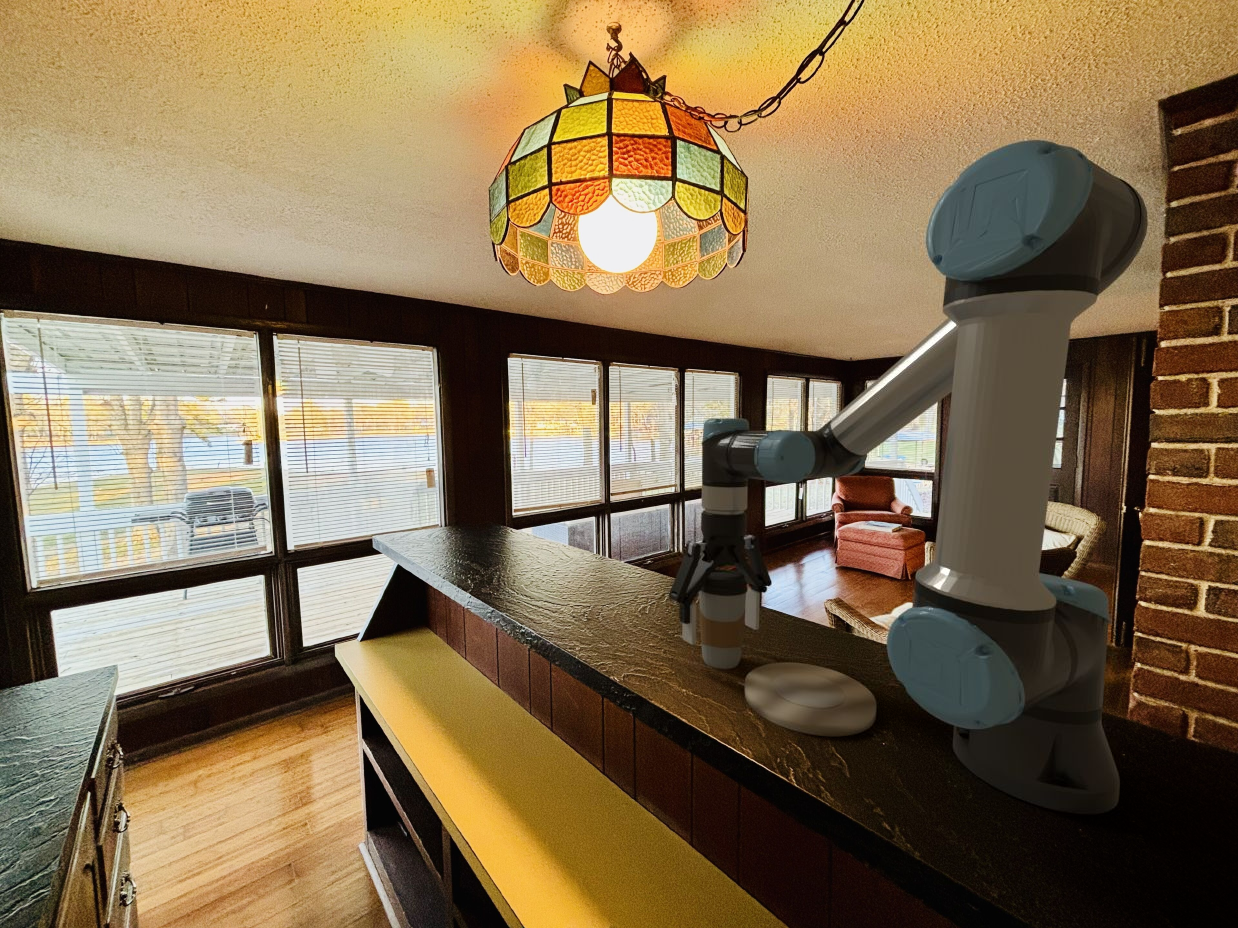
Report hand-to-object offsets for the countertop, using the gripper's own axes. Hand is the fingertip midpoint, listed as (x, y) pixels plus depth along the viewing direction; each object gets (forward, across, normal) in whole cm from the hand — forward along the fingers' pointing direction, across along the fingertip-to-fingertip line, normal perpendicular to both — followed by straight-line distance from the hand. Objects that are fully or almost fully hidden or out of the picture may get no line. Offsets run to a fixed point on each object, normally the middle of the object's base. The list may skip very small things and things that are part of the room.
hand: (721, 634), depth 88 cm
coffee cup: (+5, 0, 0) cm, 5 cm away
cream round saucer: (+5, -3, +16) cm, 17 cm away
